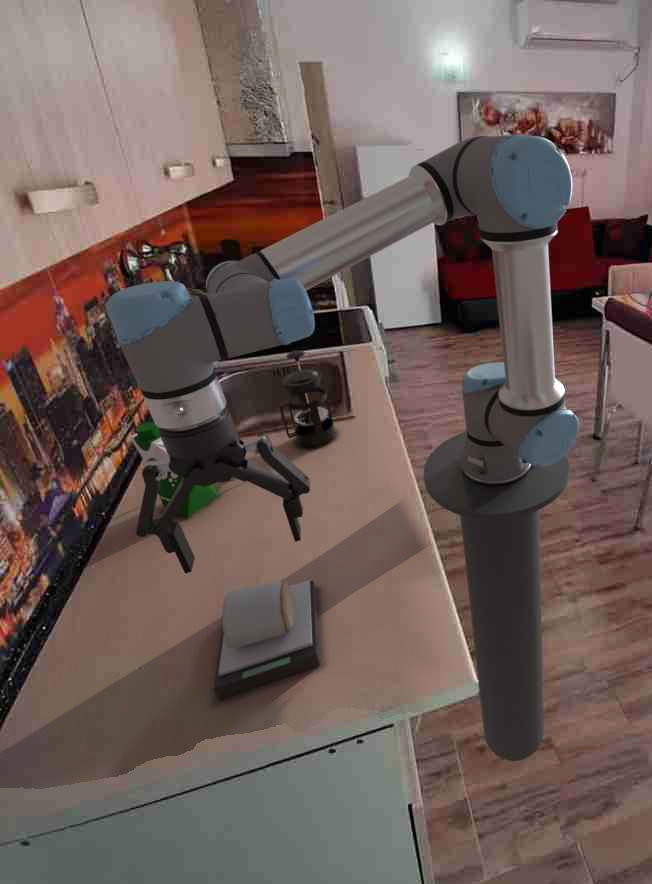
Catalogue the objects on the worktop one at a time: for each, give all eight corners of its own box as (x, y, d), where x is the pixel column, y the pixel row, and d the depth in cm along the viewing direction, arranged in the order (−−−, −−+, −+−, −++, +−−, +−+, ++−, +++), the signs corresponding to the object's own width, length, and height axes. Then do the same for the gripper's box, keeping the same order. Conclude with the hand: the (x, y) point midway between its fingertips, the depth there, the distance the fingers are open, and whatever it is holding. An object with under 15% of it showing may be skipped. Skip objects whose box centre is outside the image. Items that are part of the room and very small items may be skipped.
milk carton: (157, 511, 104) (120, 428, 95) (197, 485, 111) (165, 405, 102) (186, 522, 100) (150, 436, 91) (225, 494, 108) (195, 412, 99)
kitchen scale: (316, 590, 84) (312, 576, 82) (320, 665, 72) (315, 651, 70) (230, 616, 80) (224, 603, 79) (219, 700, 68) (212, 685, 67)
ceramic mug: (295, 643, 72) (282, 604, 68) (232, 662, 70) (216, 622, 66) (298, 586, 81) (286, 550, 78) (242, 602, 79) (228, 565, 75)
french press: (331, 422, 132) (312, 340, 122) (344, 437, 125) (325, 352, 115) (285, 439, 126) (261, 354, 116) (296, 456, 119) (271, 367, 109)
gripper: (54, 460, 53) (133, 601, 63) (304, 406, 60) (341, 540, 70) (79, 425, 59) (148, 558, 69) (303, 380, 66) (337, 506, 76)
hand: (245, 549), depth 69 cm, fingers open, 13 cm apart
